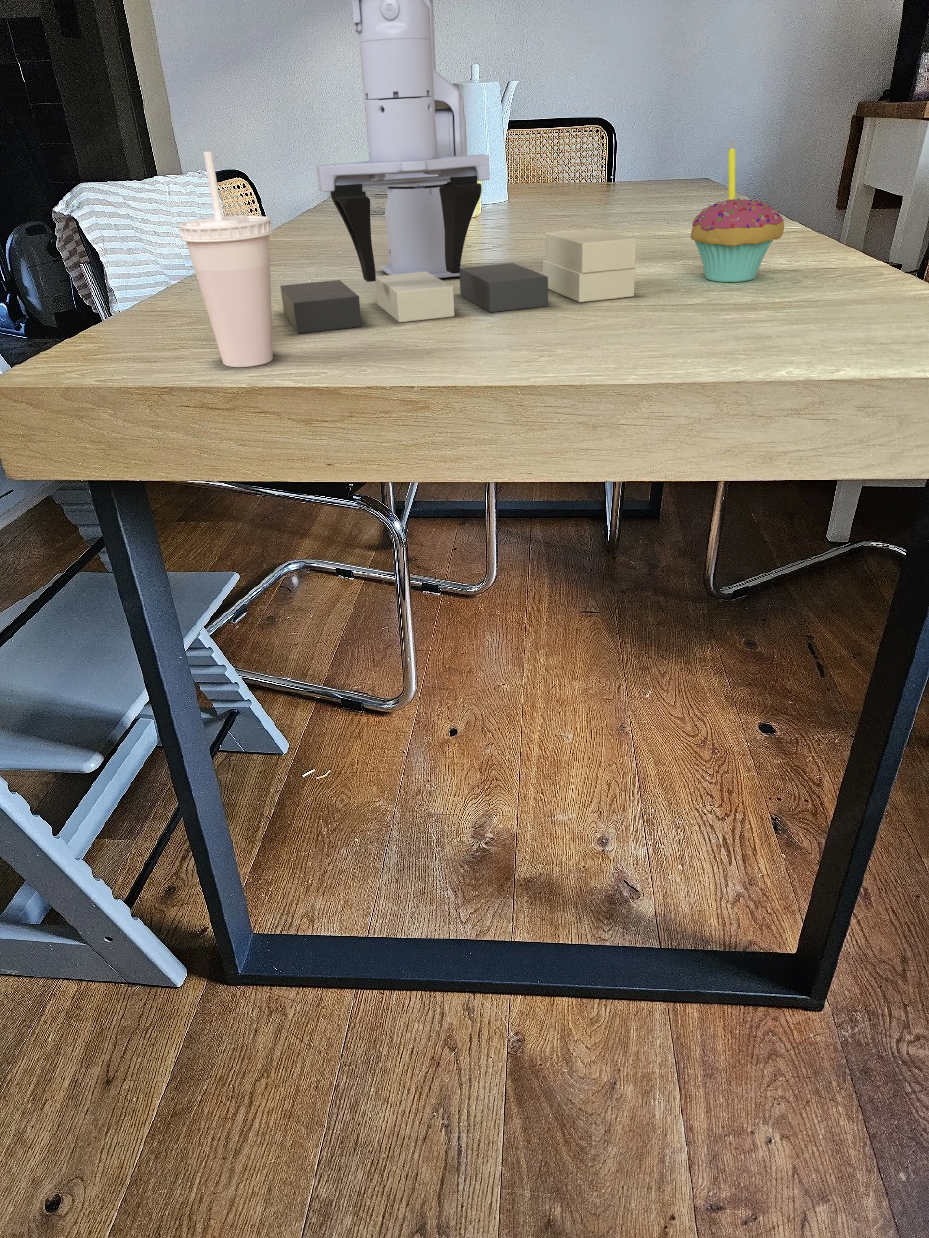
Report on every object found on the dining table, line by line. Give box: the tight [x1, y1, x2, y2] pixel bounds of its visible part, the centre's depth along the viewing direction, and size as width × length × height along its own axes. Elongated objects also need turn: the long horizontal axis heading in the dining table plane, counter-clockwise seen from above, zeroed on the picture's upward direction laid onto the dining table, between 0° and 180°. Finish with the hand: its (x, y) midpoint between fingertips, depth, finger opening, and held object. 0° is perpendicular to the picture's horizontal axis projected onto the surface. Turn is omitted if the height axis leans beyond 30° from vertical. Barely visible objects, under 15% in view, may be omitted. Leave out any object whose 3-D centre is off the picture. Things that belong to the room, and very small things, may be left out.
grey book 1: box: [279, 279, 363, 335], centre depth 78 cm, size 9×6×2 cm, turn 17°
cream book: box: [374, 272, 455, 323], centre depth 80 cm, size 9×5×2 cm, turn 17°
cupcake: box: [690, 139, 785, 283], centre depth 84 cm, size 9×8×12 cm
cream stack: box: [542, 227, 637, 303], centre depth 83 cm, size 9×6×5 cm, turn 17°
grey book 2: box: [459, 262, 549, 313], centre depth 82 cm, size 9×6×2 cm, turn 17°
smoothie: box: [178, 150, 274, 368], centre depth 63 cm, size 6×6×14 cm
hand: (411, 276), depth 79 cm, fingers open, 7 cm apart
